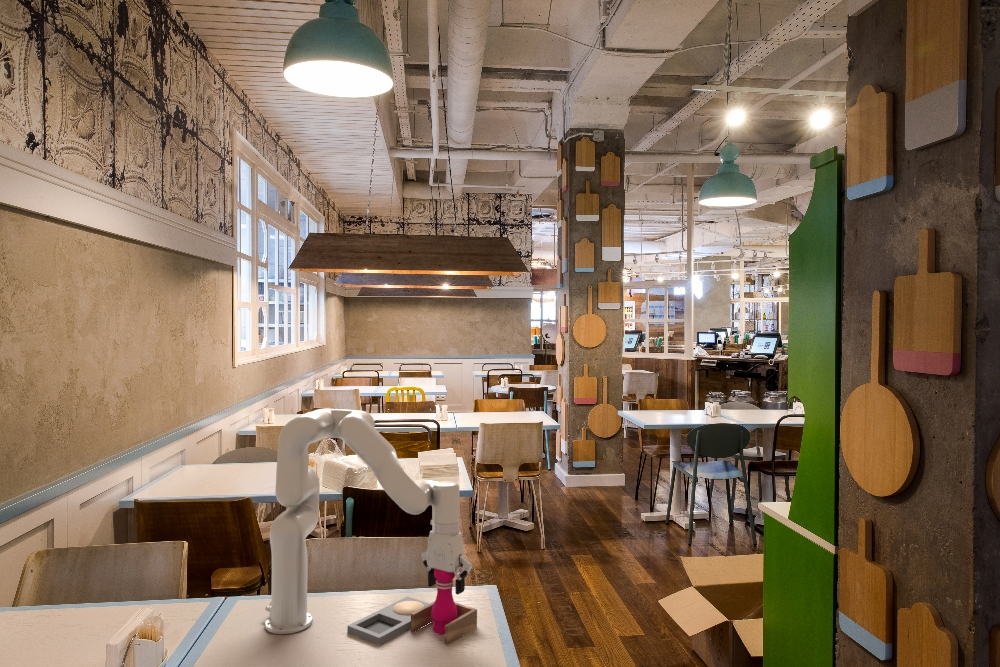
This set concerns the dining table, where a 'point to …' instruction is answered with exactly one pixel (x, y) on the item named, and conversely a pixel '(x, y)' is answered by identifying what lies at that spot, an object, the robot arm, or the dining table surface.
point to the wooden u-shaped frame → (453, 629)
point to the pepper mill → (443, 601)
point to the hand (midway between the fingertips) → (446, 588)
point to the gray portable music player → (386, 621)
